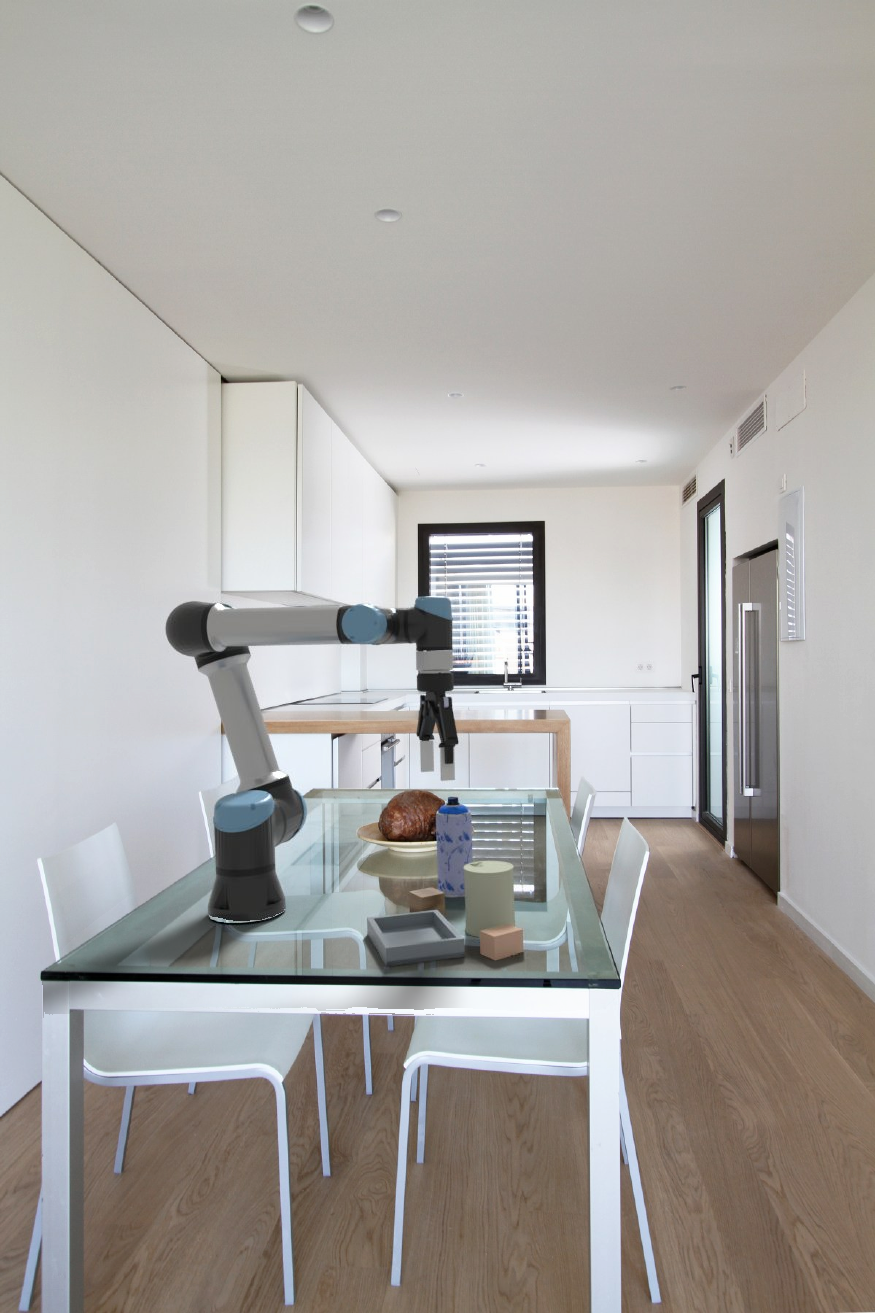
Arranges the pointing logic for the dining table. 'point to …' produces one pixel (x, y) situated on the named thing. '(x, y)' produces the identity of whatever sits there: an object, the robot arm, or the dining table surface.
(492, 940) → the soap block
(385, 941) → the tray
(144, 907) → the dining table surface
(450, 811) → the aerosol can
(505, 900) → the can
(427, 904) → the walnut block
